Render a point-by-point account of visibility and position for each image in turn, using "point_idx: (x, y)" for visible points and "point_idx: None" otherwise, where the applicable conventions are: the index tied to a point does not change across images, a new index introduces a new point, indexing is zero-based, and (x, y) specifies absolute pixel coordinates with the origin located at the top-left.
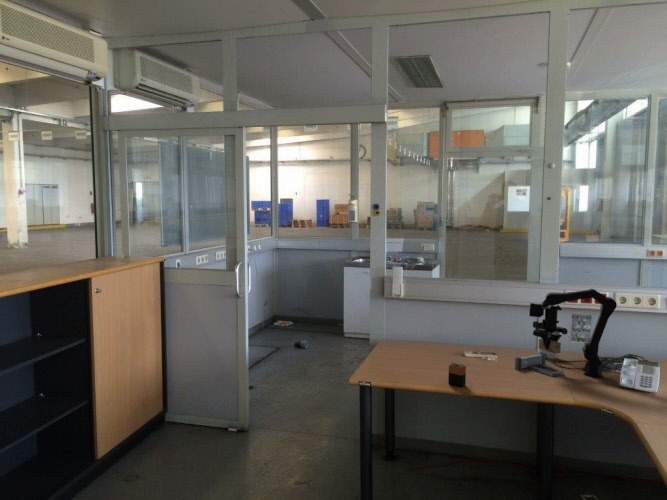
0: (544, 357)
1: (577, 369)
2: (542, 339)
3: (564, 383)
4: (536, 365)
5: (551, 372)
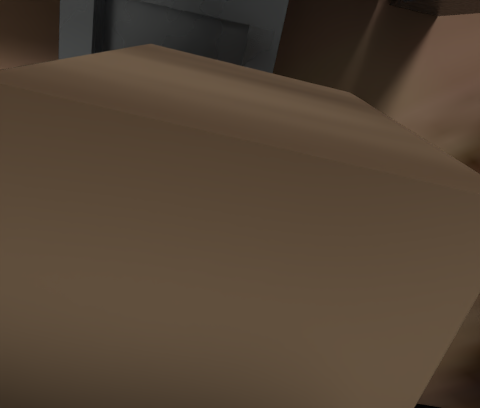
0: (462, 4)
1: (474, 315)
2: (82, 289)
3: None
4: (197, 13)
5: None
